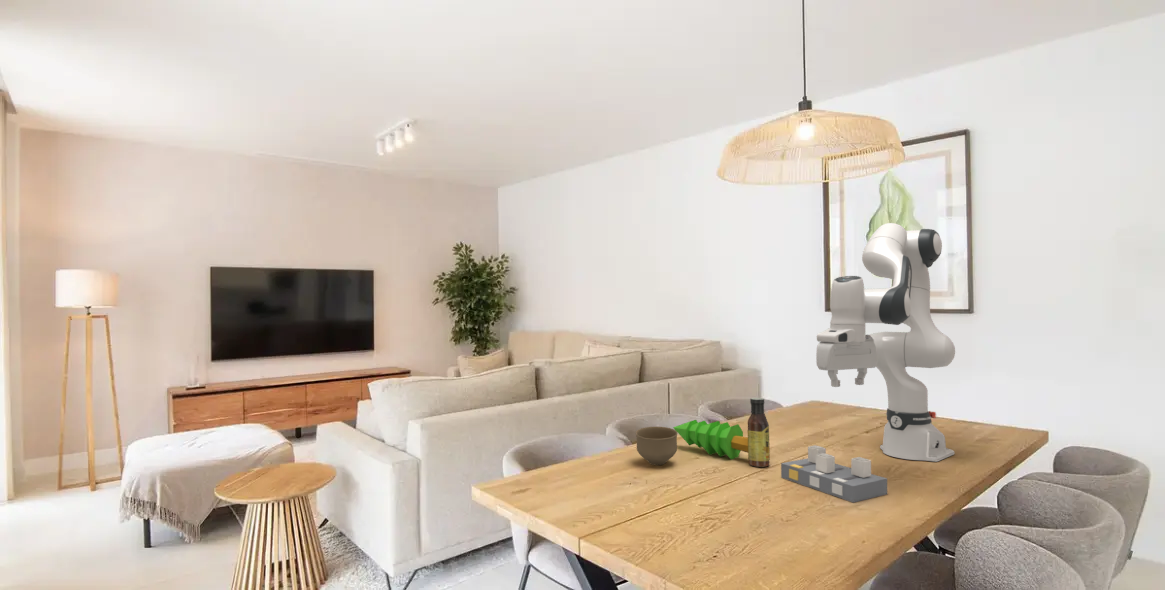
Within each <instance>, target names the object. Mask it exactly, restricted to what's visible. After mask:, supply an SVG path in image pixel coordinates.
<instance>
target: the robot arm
mask: <svg viewBox="0 0 1165 590" xmlns="http://www.w3.org/2000/svg"><path fill="white" fill-rule="evenodd" d="M942 249H943V242H942V238H941V237H940V234H939V233H938V232H937V231H936V230H935V229H931V228H922V229H913V230H911V229H910V230H906V229H905V228H904V227H903V226H902V225H900V224H898V223H894V222H887V223H883V224H882V225H880V226H879V227H878V228H877V229H876V230H875V231H874V232H873V233H872V235H871V236H870V238H869V239H868V240H867V242H866V244H865V246H864V249H863V251H862V254H861V255H862V257H861V258H862V259H861V260H862V263H863V266H864V268H865V269H866V270H867V271H868V272H869V273H870V274H872V275H874V276H876V277H878V278H879V277H880V278H884V279H891V280H892V286H891V287H886V288H865V286H864V280H863V277H861V276H859V275H845V276H838V277H836V278H834V279H833V280H832V284H831V288H830V289H831V290H830V301H829V302H830V303H829V305H830V307H829V309H830V313H831V319H830V322H829V324H830V325H829V328H827V329H825V330H823V331H821V332H819V333H817V334H816V341H817V342H818V344H817V346H816V355H815V356H816V361H815V362H816V366H817V368H818V369H819V370H820V371H827V375H828V377H829V379H830V380H831V381H830V386H831V387H833V388H838V387H841V380H840V379H838V376H837V375H838V374H839V372H838V371H843V370H857V371H856V372H858V373H857V376H856V377H855V378H854V384H855V385H856V386H858V385H859V386H864V385H865V378H866V377H867V376H866V375H867V373H868V369H875V368H877V369H878V370H879V372H880V373H881V375H882V377H883V379H884V380H885V383H886V389H887V403H888V405H887V406H888V407H887V409H886V420H887V423H885V425H884V428H883V430H884V431H883V439H882V444H881V445H880V446H879V449H880V450H882V453H883V454H884V455H887V456H890V457H894V458H898V459H903V460H910V461H927V462H940V461H942V460H944V459H947V458H948V457H951V456H954V455H955V451H954V450H953V449H952V448H951V449H950V448H948V447H947V446H946V437H945V435H944V433H943V432H942V431H940V430H939V429H938V428H937V427H936V426H935V425H934V424H933V423H932V422H933V421H932V419H936V417H937V412H936V411H931V410H929V407H928V406H929V403H928V402H929V401H928V398H929V397H928V395H929V393H928V388H927V386H926V384H924V383H923V382H922V381H921V380H919V379H917V378H915V377H913V376H911V375H910V374H909V373H908V372H907V369H906V368H909V367H910V368H923V369H924V368H926V369H933V368H934V369H935V368H942V367H943V368H944V367H947V366H949V365H950V364H951V363H952V362H953V361H954V358H955V357H956V347H955V345H954V342H953V340H952V339H951V338H950V337H949V336H947V335H946V334H944V333H943V332H941V331H940V329H939V328H938V327H937V326H936V325H935V323H934V321H933V319H932V316H931V304H930V303H931V301H930V300H931V279H930V272H929V268H930V267H932V266H933V264H934V263H936V261H937V260H938V259H939V258H940V256H941V254H942ZM866 324H885V325H894V326H899V325H901V324H904V325H906V326H908V327H910V330H909V331H907V332H905V331H903V332H902V331H881V332H880V331H878V332H875V333H874V332H873V333H870V334H866Z"/></svg>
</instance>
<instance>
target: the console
mask: <svg viewBox="0 0 1165 590" xmlns="http://www.w3.org/2000/svg"><path fill="white" fill-rule="evenodd" d="M780 466H781V468H780V478H782V479H785V480H788V481H790V482H793V483H796V484H798V485H801V486H804V487H808V488H811V489H812V490H816V491H819V492H822V493H824V494H828V495H830V496H833V497H836V498H839V499H842V500H844V501H847V502H851V503H853V504H854V503H857V502H861V501H866V500H871V499H873V498H877V497H882V496H886V495H888V478H887V477H883V476H879V475H876V474H873V473H871V476H869V477H865V478H862V477H859V476H856V475H852V474H851V467H849V466H845V465H842V464H838V463H835V472H831V473H824V472H821V471H818V470H816V463H812V462H809V461H808V457H807V458H803V459H797V460H792V461H787V462H782V463H780Z"/></svg>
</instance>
